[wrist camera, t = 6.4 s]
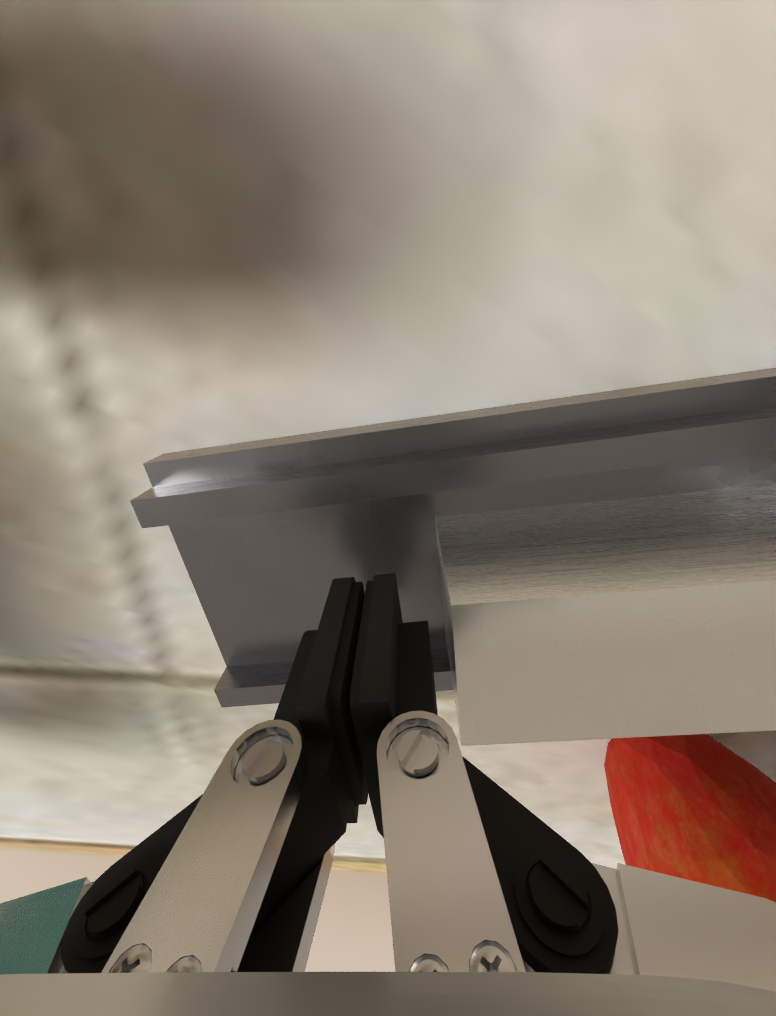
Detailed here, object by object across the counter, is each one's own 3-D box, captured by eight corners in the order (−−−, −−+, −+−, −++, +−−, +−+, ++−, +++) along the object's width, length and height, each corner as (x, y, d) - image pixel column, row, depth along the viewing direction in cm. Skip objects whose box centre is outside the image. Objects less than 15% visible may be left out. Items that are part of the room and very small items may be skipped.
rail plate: (163, 454, 12) (118, 475, 10) (1494, 266, 9) (1784, 248, 7) (249, 675, 15) (228, 721, 13) (1216, 594, 12) (1360, 640, 10)
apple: (770, 728, 15) (1067, 1043, 8) (652, 806, 18) (811, 1105, 11) (654, 663, 14) (888, 965, 7) (543, 754, 16) (643, 1052, 10)
